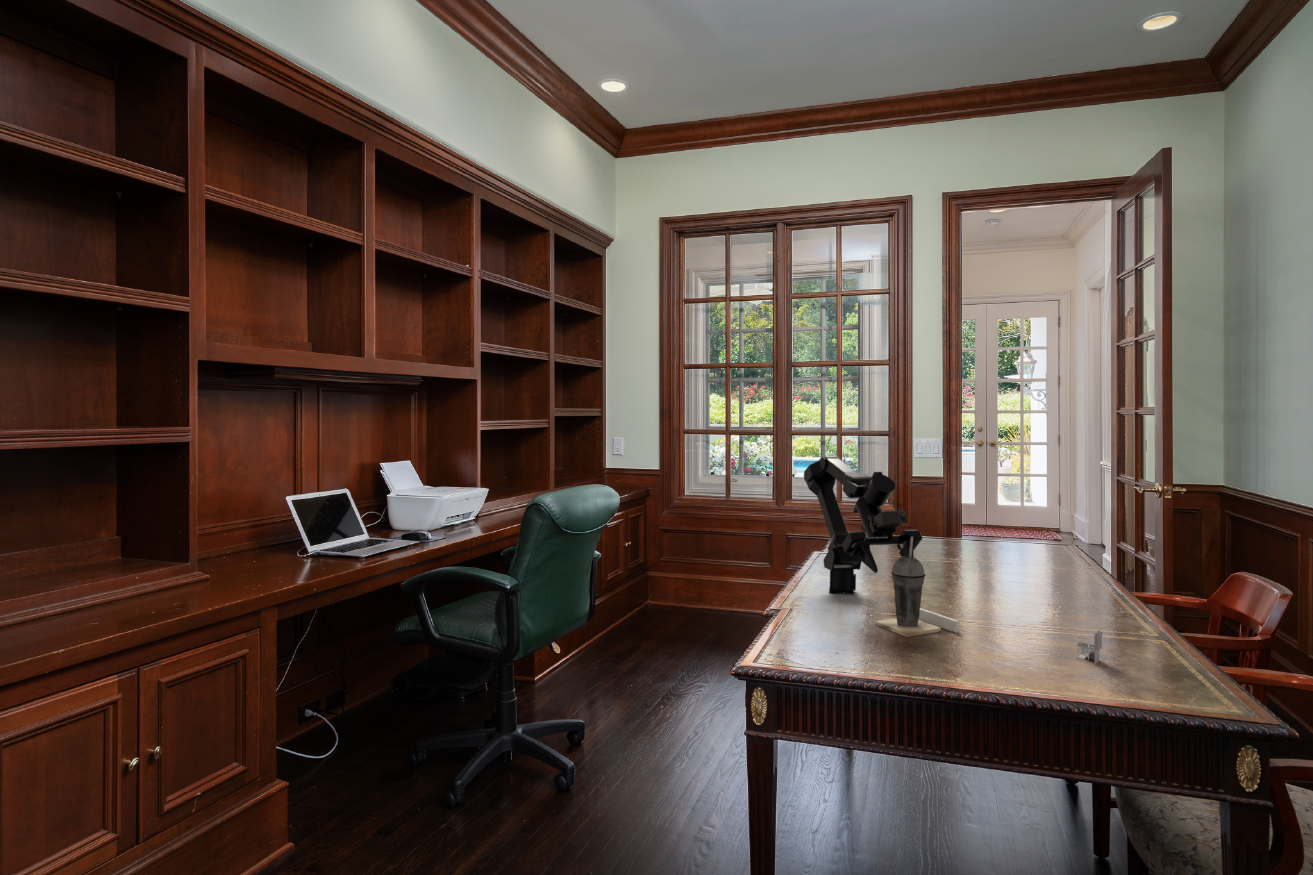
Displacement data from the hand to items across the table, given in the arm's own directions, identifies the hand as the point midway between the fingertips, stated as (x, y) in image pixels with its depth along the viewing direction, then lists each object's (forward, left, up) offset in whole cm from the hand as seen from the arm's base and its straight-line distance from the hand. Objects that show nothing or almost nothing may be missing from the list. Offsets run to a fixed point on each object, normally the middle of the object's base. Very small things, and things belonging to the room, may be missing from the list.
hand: (894, 571), depth 169 cm
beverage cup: (+3, -5, -11) cm, 12 cm away
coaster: (+3, -6, -12) cm, 13 cm away
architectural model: (+32, -20, -12) cm, 40 cm away
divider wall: (+9, -1, -12) cm, 15 cm away
